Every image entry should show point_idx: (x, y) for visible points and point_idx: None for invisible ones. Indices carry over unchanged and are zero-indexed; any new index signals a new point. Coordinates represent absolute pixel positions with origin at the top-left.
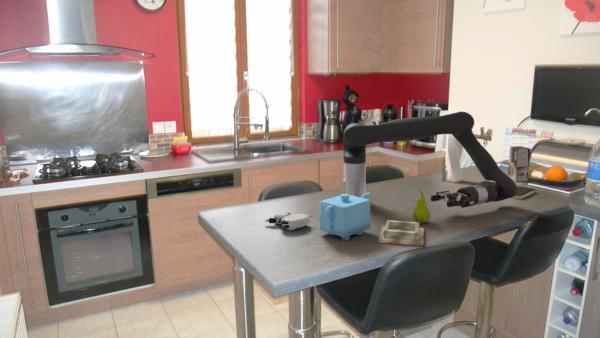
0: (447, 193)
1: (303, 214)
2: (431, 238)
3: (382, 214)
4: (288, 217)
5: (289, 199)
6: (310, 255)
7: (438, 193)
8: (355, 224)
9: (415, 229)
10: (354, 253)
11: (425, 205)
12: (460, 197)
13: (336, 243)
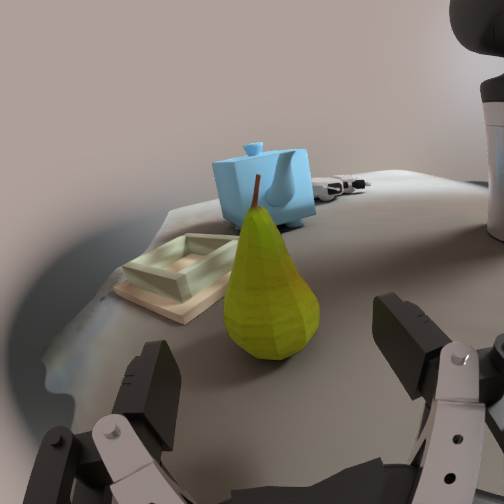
0: (431, 429)
1: (331, 181)
2: (127, 320)
3: (406, 268)
4: (321, 178)
5: (478, 190)
6: (208, 213)
7: (495, 356)
8: (228, 204)
9: (142, 265)
10: (179, 234)
11: (236, 269)
12: (113, 486)
13: (229, 222)
